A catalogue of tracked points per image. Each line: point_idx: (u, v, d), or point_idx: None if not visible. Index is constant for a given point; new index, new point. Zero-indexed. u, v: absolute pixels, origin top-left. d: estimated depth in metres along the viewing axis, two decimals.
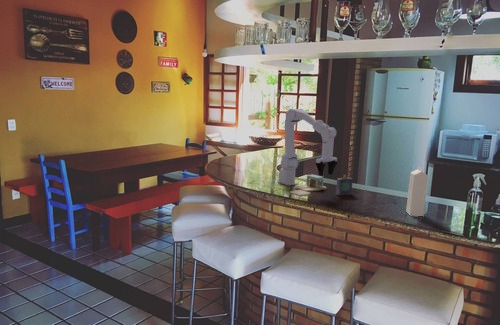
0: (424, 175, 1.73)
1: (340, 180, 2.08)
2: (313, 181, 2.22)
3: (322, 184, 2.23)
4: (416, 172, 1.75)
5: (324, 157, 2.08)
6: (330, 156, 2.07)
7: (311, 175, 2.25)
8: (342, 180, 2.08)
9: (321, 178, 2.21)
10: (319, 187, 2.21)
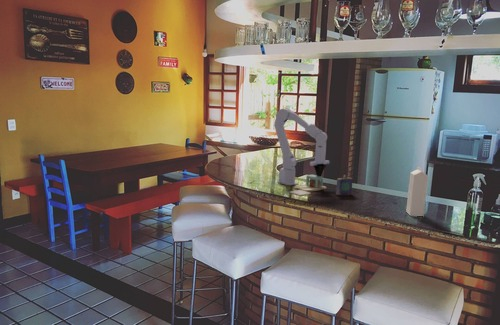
0: (424, 175, 1.73)
1: (340, 180, 2.08)
2: (313, 181, 2.22)
3: (322, 184, 2.22)
4: (416, 172, 1.75)
5: (317, 160, 2.22)
6: (323, 159, 2.21)
7: (311, 175, 2.25)
8: (342, 180, 2.08)
9: (321, 178, 2.21)
10: (319, 187, 2.21)
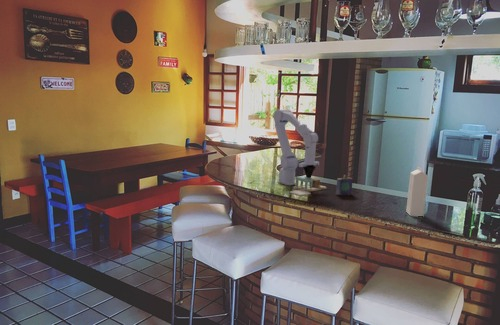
0: (424, 175, 1.73)
1: (340, 180, 2.08)
2: (313, 181, 2.22)
3: (311, 186, 2.17)
4: (416, 172, 1.75)
5: (307, 161, 2.16)
6: (312, 160, 2.16)
7: (300, 177, 2.19)
8: (342, 180, 2.08)
9: (310, 180, 2.16)
10: (319, 187, 2.21)
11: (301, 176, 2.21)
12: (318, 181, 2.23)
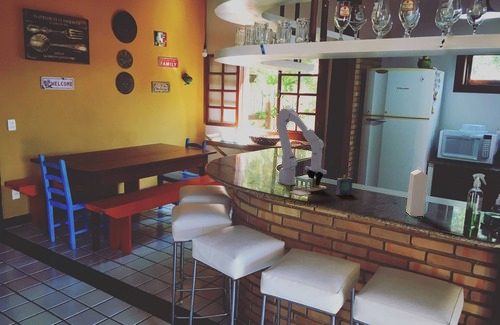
0: (424, 175, 1.73)
1: (340, 180, 2.08)
2: (313, 181, 2.22)
3: (311, 186, 2.17)
4: (416, 172, 1.75)
5: None
6: (311, 166, 2.21)
7: (300, 177, 2.19)
8: (342, 180, 2.08)
9: (310, 180, 2.16)
10: (319, 187, 2.21)
11: (301, 176, 2.21)
12: None
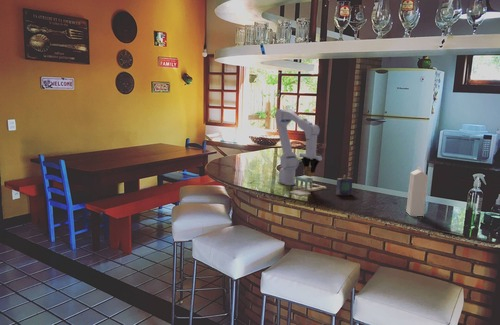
0: (424, 175, 1.73)
1: (340, 180, 2.08)
2: (308, 168, 2.15)
3: (311, 186, 2.17)
4: (416, 172, 1.75)
5: None
6: (306, 152, 2.13)
7: (300, 177, 2.19)
8: (342, 180, 2.08)
9: (310, 180, 2.16)
10: (319, 187, 2.21)
11: (301, 176, 2.21)
12: None
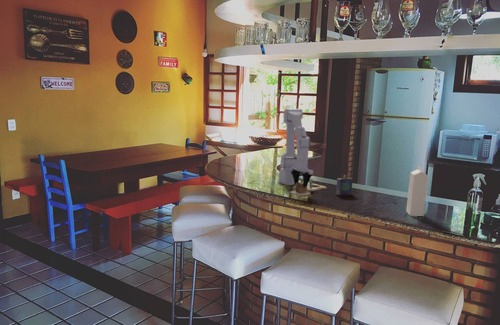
0: (424, 175, 1.73)
1: (340, 180, 2.08)
2: (299, 185, 2.08)
3: (311, 186, 2.17)
4: (416, 172, 1.75)
5: None
6: (297, 165, 2.07)
7: (300, 177, 2.19)
8: (342, 180, 2.08)
9: (310, 180, 2.16)
10: (319, 187, 2.21)
11: (301, 176, 2.21)
12: None
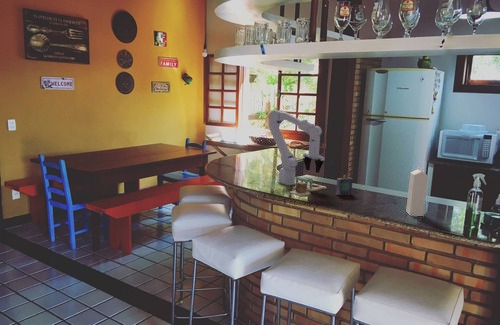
0: (424, 175, 1.73)
1: (340, 180, 2.08)
2: (299, 185, 2.08)
3: (311, 186, 2.17)
4: (416, 172, 1.75)
5: None
6: (309, 153, 2.21)
7: (300, 177, 2.19)
8: (342, 180, 2.08)
9: (310, 180, 2.16)
10: (319, 187, 2.21)
11: (301, 176, 2.21)
12: (305, 185, 2.09)
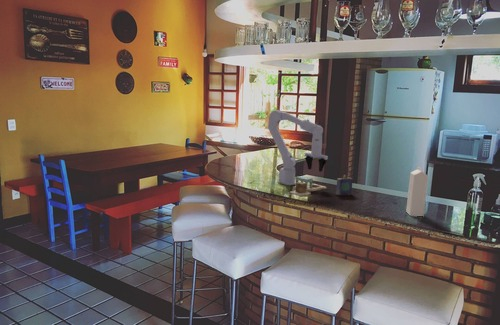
0: (424, 175, 1.73)
1: (340, 180, 2.08)
2: (299, 185, 2.08)
3: (311, 186, 2.17)
4: (416, 172, 1.75)
5: None
6: (312, 152, 2.24)
7: (300, 177, 2.19)
8: (342, 180, 2.08)
9: (310, 180, 2.16)
10: (319, 187, 2.21)
11: (301, 176, 2.21)
12: (305, 185, 2.09)
